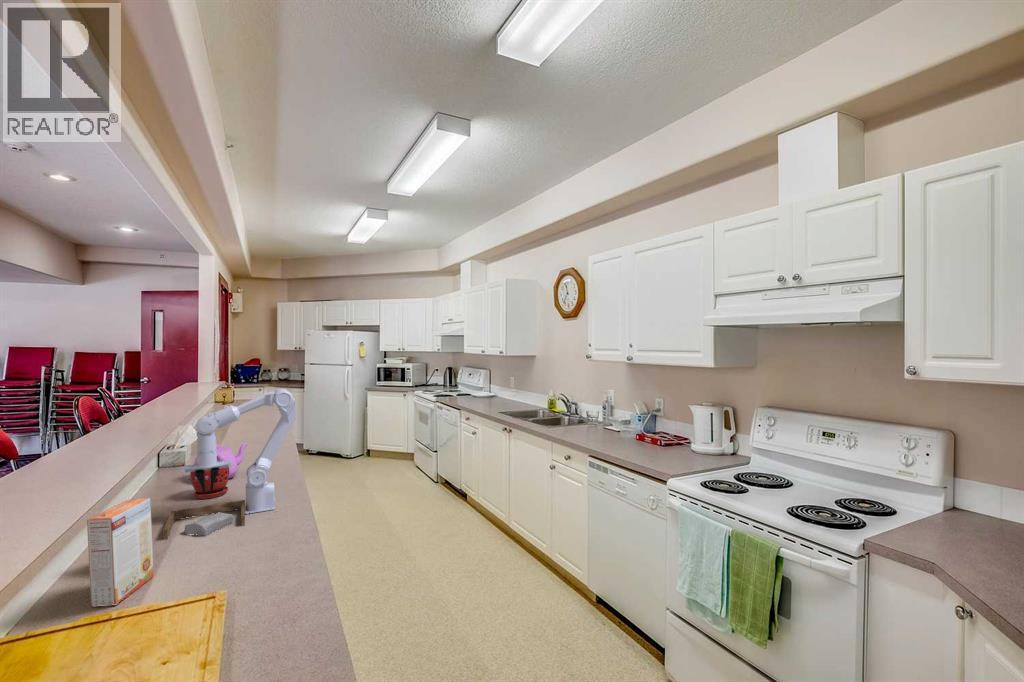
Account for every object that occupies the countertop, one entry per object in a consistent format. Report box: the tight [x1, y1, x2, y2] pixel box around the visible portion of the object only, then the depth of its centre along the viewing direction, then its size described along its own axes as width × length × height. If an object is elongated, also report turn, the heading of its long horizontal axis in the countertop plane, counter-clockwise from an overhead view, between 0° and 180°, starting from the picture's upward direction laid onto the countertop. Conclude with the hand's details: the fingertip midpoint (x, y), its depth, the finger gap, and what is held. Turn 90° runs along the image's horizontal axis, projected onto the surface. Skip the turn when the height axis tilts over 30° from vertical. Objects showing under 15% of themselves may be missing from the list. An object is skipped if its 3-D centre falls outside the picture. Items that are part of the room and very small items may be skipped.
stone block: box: [184, 512, 234, 537], centre depth 160 cm, size 12×5×10 cm
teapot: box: [193, 441, 251, 481], centre depth 217 cm, size 23×21×15 cm
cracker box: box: [86, 497, 155, 607], centre depth 120 cm, size 14×6×21 cm, turn 5°
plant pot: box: [189, 467, 230, 500], centre depth 193 cm, size 13×13×12 cm
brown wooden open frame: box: [162, 499, 246, 540], centre depth 165 cm, size 22×19×3 cm
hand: (207, 490), depth 169 cm, fingers closed
